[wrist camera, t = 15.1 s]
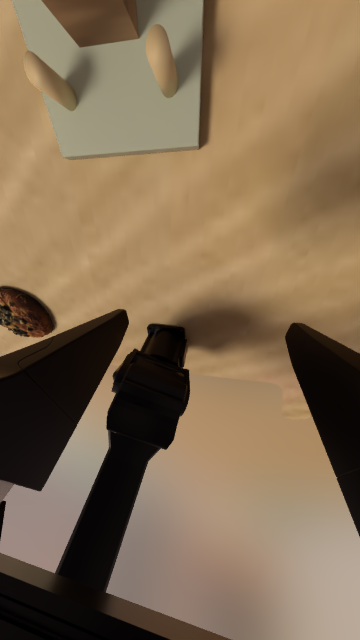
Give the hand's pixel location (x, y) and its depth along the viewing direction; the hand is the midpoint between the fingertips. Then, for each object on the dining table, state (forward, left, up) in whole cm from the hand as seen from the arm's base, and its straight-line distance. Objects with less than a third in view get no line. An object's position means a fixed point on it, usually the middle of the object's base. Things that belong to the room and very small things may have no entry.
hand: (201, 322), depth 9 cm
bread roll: (-35, -11, -14) cm, 39 cm away
